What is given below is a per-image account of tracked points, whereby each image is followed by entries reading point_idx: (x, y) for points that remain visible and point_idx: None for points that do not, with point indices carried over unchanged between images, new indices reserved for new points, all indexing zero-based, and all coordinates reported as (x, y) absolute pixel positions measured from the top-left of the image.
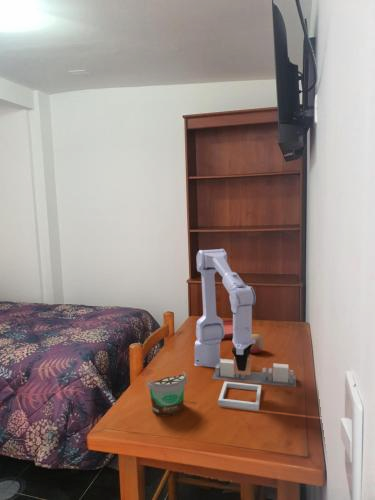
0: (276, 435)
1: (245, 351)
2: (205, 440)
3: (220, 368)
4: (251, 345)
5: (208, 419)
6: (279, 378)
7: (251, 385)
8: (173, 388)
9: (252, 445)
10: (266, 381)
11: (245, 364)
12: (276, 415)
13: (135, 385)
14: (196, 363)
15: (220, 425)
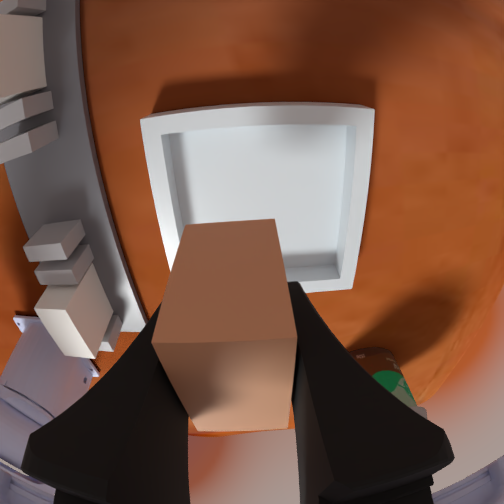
0: (488, 59)
1: (412, 482)
2: (493, 260)
3: (103, 335)
4: (112, 491)
5: (420, 278)
6: (33, 56)
7: (163, 172)
8: (425, 416)
9: None
10: (60, 114)
11: (325, 328)
12: (377, 27)
13: (262, 430)
14: (89, 375)
15: (450, 239)
